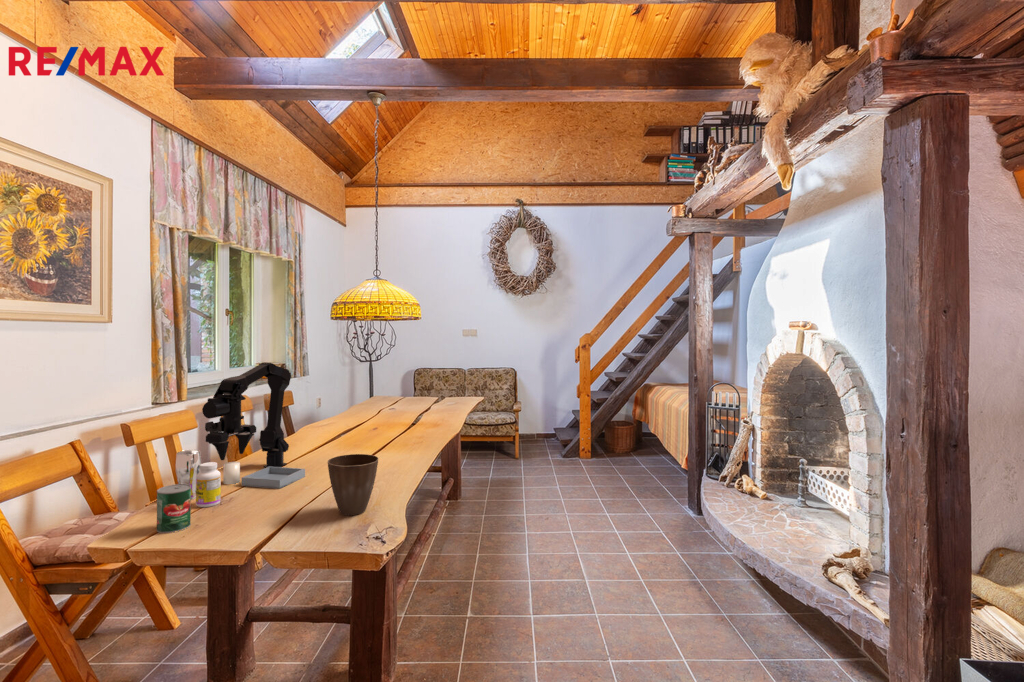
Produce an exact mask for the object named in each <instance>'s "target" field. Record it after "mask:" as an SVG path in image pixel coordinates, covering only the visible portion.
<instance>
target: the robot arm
mask: <svg viewBox="0 0 1024 682" xmlns="http://www.w3.org/2000/svg"><path fill="white" fill-rule="evenodd" d="M263 377H264V378H266V379H267V385H268V387H269V388H270V395H269V405H268V414H267V422H266V426H265V428H264V429H263V430H262V429H261V430H260V432H259V435H260V436H259V440H258V441H259V445H260V447H261V451H262V452H266V457H265V458H266V464H265V465H263V466H262V467H263V468H265V467H266V468H267V467H269V466H271V467H285V465H287V464H288V463H287V462H285V461H284V455H285V454H284V453H286V452H288V451H289V447H290V444H289V443H288V442H287V441H286V439H285V433H284V431H283V429H282V426H281V425H282V416H283V409H284V407H283V405H284V398H285V391H286V390H287V388H288V386H289V385H290V383H291V379H292V373H291V372H290V370H289V369H287V368H284V367H282V366H281V367H280V366H278V365H276V364H274V363H272V362H260V363H259V364H258V365H255V366H254V367H252V368H250V369H249V370H247V371H245V372H244V373H242V374H240V375H237V376H231V377H227V378H224V379H222V380H221V381H220V384H219V385H218V388H217V390H215V393H214V395H213V396H212V397H209V398H207V402H205V403H204V405H203V406H202V408H201V409H202V410H201V412H202V414H203V416H204V417H205V418H206V419H209V420H210V419H214V418H219V420H218V421H217V422H214V421H208V422H205V425H204V431H206V432H209V433H207V434H206V435H205V442H206V443H208V444H209V445H210V444H211V445H213V447H214V448H215V449H216V453H217V454H218V456H219V459H220V461H225V458H226V456H227V453H228V452H227V450H228V448H229V443H230V441H229V440H228V439H230V437H233V436H235V437H236V438H237V440H238V443H237V444H238V452H239V454H240V455H243V454H244V453H245V450H246V448H247V446H248V444H249V442H250V441H251V440H252V438H253V436H254V435H255V434H256V433H257V426H256V425H255V424H247V423H246V424H242V420H244V419H245V416H244V415H242V401H245V400H246V396H244V395H243V394H244V393H245V392H246V391H247V390H248V389H249V386H251V384H253V383H255V382H257V381H258V380H260V379H262V378H263Z"/></svg>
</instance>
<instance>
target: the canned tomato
mask: <svg viewBox="0 0 1024 682" xmlns="http://www.w3.org/2000/svg"><path fill="white" fill-rule="evenodd" d="M191 502H192V500H191V485H188V484H178V483H176V484H170V485H165V486H162V487H160V488H158V489H156V533H159V534H172V532H173V533H176V532H175V531H178V532H180V531H179V530H181V531H183V530H182V529H184V530H186V529H188V528H190V527H191V519H192V517H191V516H192V515H191V514H192V513H191V512H192V511H191V510H192V509H191V507H192V506H191V505H192V504H191ZM187 527H188V528H187ZM185 528H186V529H185Z"/></svg>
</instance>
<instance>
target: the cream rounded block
mask: <svg viewBox="0 0 1024 682" xmlns="http://www.w3.org/2000/svg"><path fill="white" fill-rule="evenodd" d="M222 472H223V480H222V482H223V485H224V484H227V485H226V486H229V485H228V484H234V485H237V484H236V483H238V484H240V483H241V463H240V461H230V462H225V463H223V471H222ZM239 482H240V483H239Z"/></svg>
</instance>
